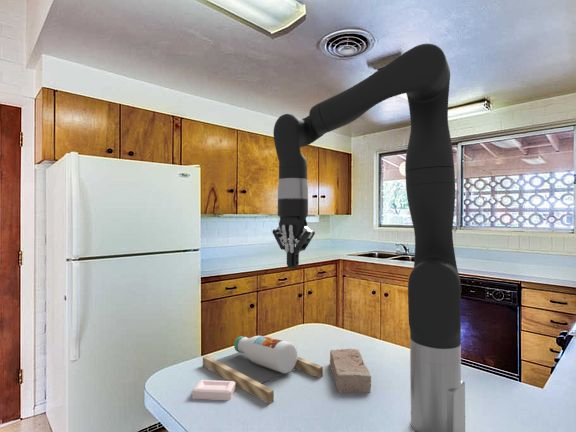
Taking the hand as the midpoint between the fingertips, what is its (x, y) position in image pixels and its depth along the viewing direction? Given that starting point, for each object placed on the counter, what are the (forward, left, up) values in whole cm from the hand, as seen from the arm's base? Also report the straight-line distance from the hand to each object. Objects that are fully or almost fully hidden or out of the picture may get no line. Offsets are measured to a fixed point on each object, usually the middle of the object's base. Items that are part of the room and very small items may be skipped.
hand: (292, 267), depth 85 cm
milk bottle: (+5, -4, -25) cm, 25 cm away
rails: (+12, 0, -29) cm, 32 cm away
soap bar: (+11, +15, -30) cm, 35 cm away
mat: (+16, 0, -29) cm, 34 cm away
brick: (-7, -14, -30) cm, 34 cm away
